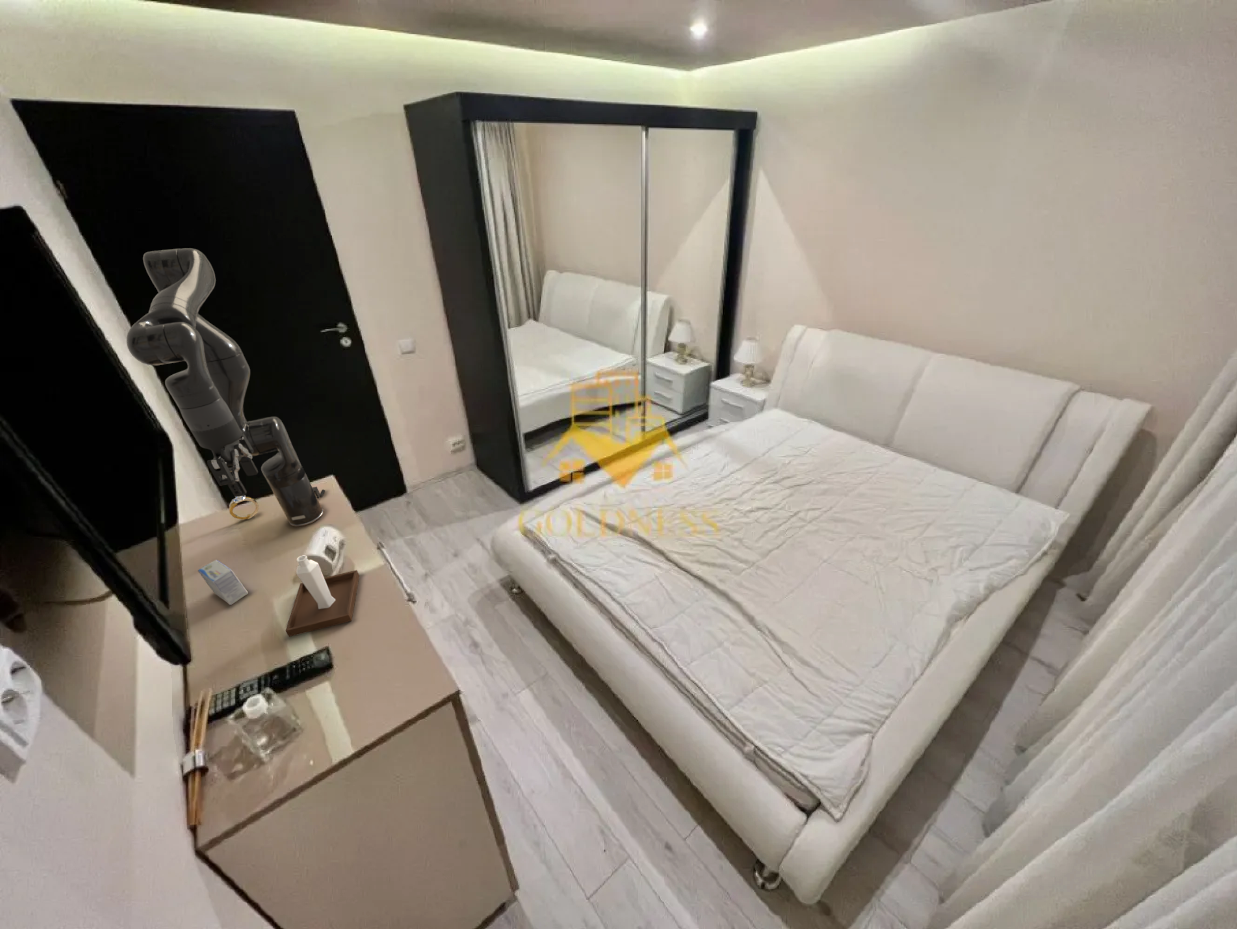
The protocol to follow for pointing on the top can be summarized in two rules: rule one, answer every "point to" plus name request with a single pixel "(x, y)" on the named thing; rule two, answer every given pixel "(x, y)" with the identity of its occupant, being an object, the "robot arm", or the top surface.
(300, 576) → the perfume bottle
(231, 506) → the ring
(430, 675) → the top surface
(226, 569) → the medicine box
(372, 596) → the top surface
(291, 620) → the tray
